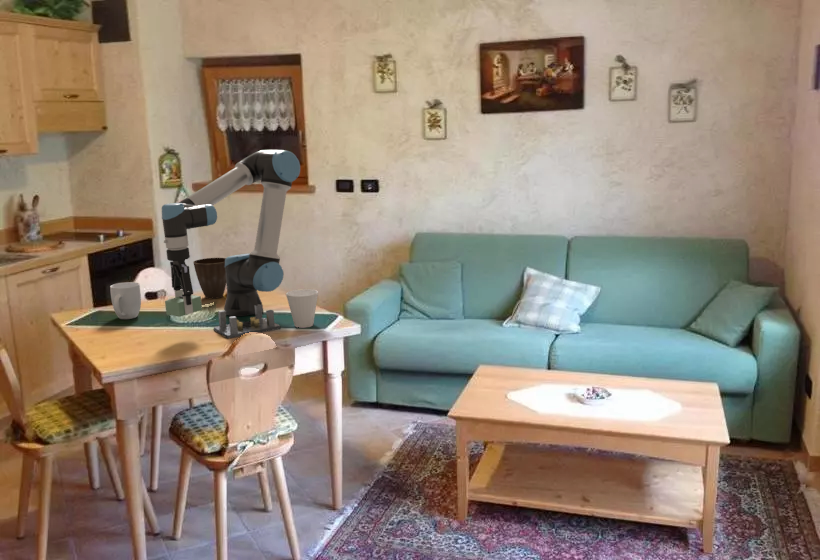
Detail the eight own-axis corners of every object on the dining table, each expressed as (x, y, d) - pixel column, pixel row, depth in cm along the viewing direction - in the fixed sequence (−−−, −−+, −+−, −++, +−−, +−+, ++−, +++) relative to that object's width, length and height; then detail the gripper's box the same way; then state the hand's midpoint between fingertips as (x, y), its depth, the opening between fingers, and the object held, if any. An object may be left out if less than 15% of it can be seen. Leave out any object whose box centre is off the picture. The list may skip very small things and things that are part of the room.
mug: (132, 323, 294) (128, 290, 291) (104, 323, 295) (100, 290, 292) (147, 313, 309) (144, 281, 306) (120, 313, 309) (117, 282, 307)
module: (179, 316, 266) (178, 301, 265) (166, 314, 270) (164, 299, 268) (202, 309, 274) (200, 294, 273) (188, 307, 278) (187, 292, 277)
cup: (290, 321, 290) (288, 289, 288) (322, 320, 290) (320, 288, 287) (285, 329, 279) (282, 296, 276) (317, 329, 278) (315, 295, 276)
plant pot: (204, 292, 343) (200, 257, 339) (236, 292, 341) (233, 257, 338) (191, 300, 328) (188, 264, 325) (225, 300, 327) (222, 263, 323)
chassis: (227, 338, 270) (226, 319, 268) (213, 330, 281) (212, 311, 280) (280, 328, 280) (279, 310, 279) (265, 321, 292) (263, 303, 290)
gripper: (157, 245, 274) (165, 306, 279) (176, 254, 256) (184, 319, 261) (178, 242, 278) (185, 303, 283) (198, 250, 260) (205, 314, 265)
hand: (184, 310), depth 272 cm, fingers closed on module, 9 cm apart
